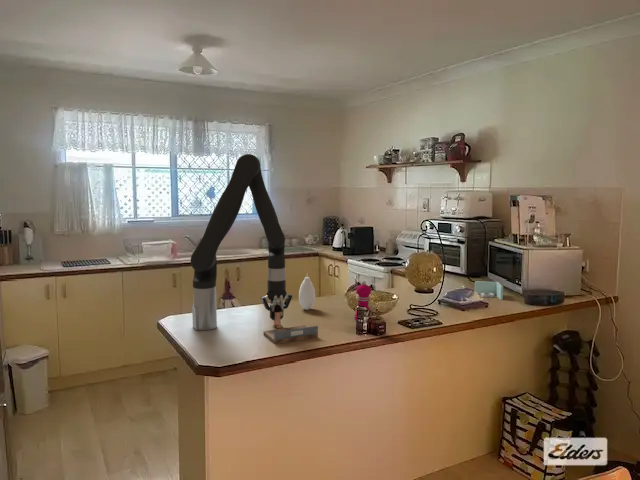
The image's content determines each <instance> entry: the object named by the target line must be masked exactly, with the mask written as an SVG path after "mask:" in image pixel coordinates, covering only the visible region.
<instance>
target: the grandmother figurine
mask: <svg viewBox="0 0 640 480" xmlns="http://www.w3.org/2000/svg"><path fill="white" fill-rule="evenodd" d="M279 304H280V298H277V299H276V305H275V309H274V312H275V320H273V324H272V327H274V328H275V327H276V328H277V329H282V328H283V324H281V323H282V321H281V319H280V314H281V316H283V317H284V310H283V311H282V308H281V306H279Z"/></svg>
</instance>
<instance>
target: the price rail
mask: <svg viewBox="0 0 640 480" xmlns="http://www.w3.org/2000/svg"><path fill="white" fill-rule="evenodd" d="M312 334H318V335H319V325H313V326H307V327H305V328H298V329H291V330H284V331H277V332H274V340H279V339H286V338H292V337H299V336H305V335H312Z"/></svg>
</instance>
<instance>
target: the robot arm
mask: <svg viewBox="0 0 640 480" xmlns="http://www.w3.org/2000/svg"><path fill="white" fill-rule="evenodd" d="M248 187H249V191H250V192H251V196H252V199H253V203H254V206H255V207H254V208H255V210H256V213H257V215H258V218H259V220H260V223H261V225H262V228H263V230H264V234H265V238H266V240H267V244H268V257H267V273H266V274H267V276H266V278H267V292H266V295H264V296H261V297H260V300H261V302H262V303H263V304H262V305H263V306H264V309H265V310H267V311H268V312H269V318H270V319H271V320H272V321H274V320H275V312H274V309H275V305H276V299H277V298H280V304H279V306H281V308H282V311H283V312H284V310H286V309H288V308H289V306H290V304H291V300H292V299H293V295H292V294H290V293H287V291H286V290H287V287H286V286H287V285H286V284H287V283H286V282H287V278H286V277H287V276H286V275H287V274H286V273H287V272H286V257H285V249H286V247H285V244H286V237H285V233H284V232H283V230H282V227H281V225H280V223H279V218H278V214H277V213H276V210H275V207H274V205H273V202H272V200H271V197H270V196H269V192H268V191H267V188H266V185H265V182H264V177H263V173H262V168H261V162H260V160H259V158H258V157H257V156H256V155H254V154H252V153H244V154H242V155H240V156H239V157H238V159H237V160H236V163H235V165H234V168H233V172H232V175H231V177H230V179H229V182H228V184H227V186H226V187H225V189H224V191H223V192H222V194H221V196H220V198H219V199H218V201H217V202H216V205H215V207H214V209H213V211H212V214H211V216H210V218H209V221H208V223H207V225H206V228H205V231H204V233H203V236H202V238H201V239H200V242H199V243H198V245H197V246H196V248H195V249H194V250H193V251H192V254H191V256H190V265H191V268H193V270H194V271H193V279H192V296H193V298H192V300H193V304H191V311H192V313H191V314H192V316H191V317H192V328H193V329H194V330H195V331H211V330H215V329H216V328H217V326H218V322H217V321H218V320H217V319H218V316H217V315H218V314H217V274H218V273H217V271H218V265H217V264H218V261H217V252H218V249H219V248H220V244H221V243H222V242H223V240H224V238H225V237H226V236H227V235H228V233H229V231H230V230H231V228H232V227H233V225H234V223H235V221H236V220H237V217H238V215H239V214H240V213H239V212H240V210H241V208H242V205H243V202H244V198H245V194H246V192H247V190H248ZM268 299H269V302H268ZM268 303H269V304H268ZM283 318H284V315H283V316H281V314H280V320H283Z"/></svg>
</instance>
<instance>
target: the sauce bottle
mask: <svg viewBox="0 0 640 480" xmlns="http://www.w3.org/2000/svg"><path fill="white" fill-rule="evenodd" d="M308 274H309V273H306V276H305V277H304V279H303V281H302V282H301V284H300V287H299V291H298V302H299V305H300V307H302V308H303V309H304V310H305V311H308V310H310V309H311V308H312V307H313V306H314V305H315V302H316V291H315V286H314V284H313V282H312V280H311V277H309V275H308Z"/></svg>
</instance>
